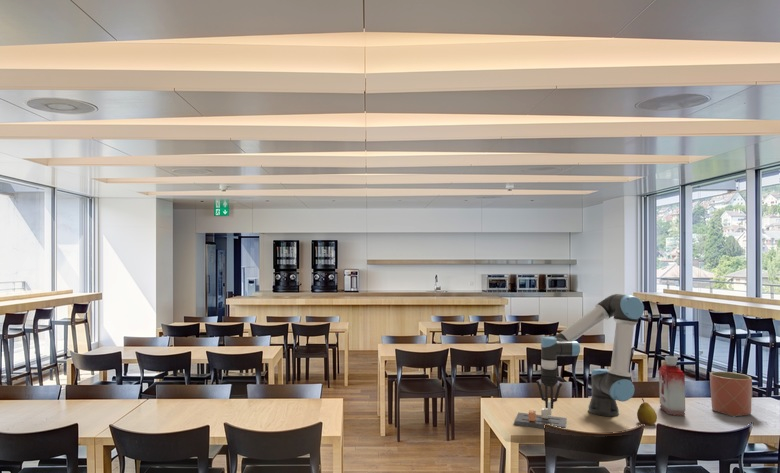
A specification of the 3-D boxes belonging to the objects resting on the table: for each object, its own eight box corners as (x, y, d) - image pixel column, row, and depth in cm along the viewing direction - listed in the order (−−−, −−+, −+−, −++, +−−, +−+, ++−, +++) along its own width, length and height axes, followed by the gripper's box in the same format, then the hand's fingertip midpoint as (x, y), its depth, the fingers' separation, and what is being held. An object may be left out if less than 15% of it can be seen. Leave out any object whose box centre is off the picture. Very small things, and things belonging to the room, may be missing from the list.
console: (566, 421, 256) (566, 417, 256) (565, 431, 242) (565, 426, 242) (518, 416, 265) (518, 412, 265) (514, 424, 251) (514, 420, 251)
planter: (727, 406, 286) (726, 370, 287) (761, 416, 268) (760, 378, 269) (702, 408, 281) (701, 372, 282) (735, 419, 263) (734, 380, 263)
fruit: (659, 427, 249) (658, 402, 250) (639, 425, 252) (638, 401, 252) (655, 421, 258) (654, 398, 258) (635, 420, 260) (635, 396, 261)
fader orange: (535, 419, 253) (535, 410, 253) (534, 421, 250) (534, 413, 250) (529, 418, 254) (529, 410, 255) (528, 420, 251) (528, 412, 251)
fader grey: (548, 416, 258) (548, 408, 258) (547, 418, 254) (547, 410, 254) (542, 415, 259) (542, 407, 259) (541, 417, 255) (541, 409, 255)
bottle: (687, 416, 266) (686, 359, 268) (666, 415, 268) (665, 358, 270) (677, 408, 280) (676, 354, 282) (657, 407, 282) (656, 353, 284)
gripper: (562, 367, 258) (563, 414, 257) (536, 365, 263) (536, 411, 261) (562, 370, 251) (562, 418, 250) (535, 368, 256) (535, 415, 254)
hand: (549, 414), depth 256 cm, fingers closed
